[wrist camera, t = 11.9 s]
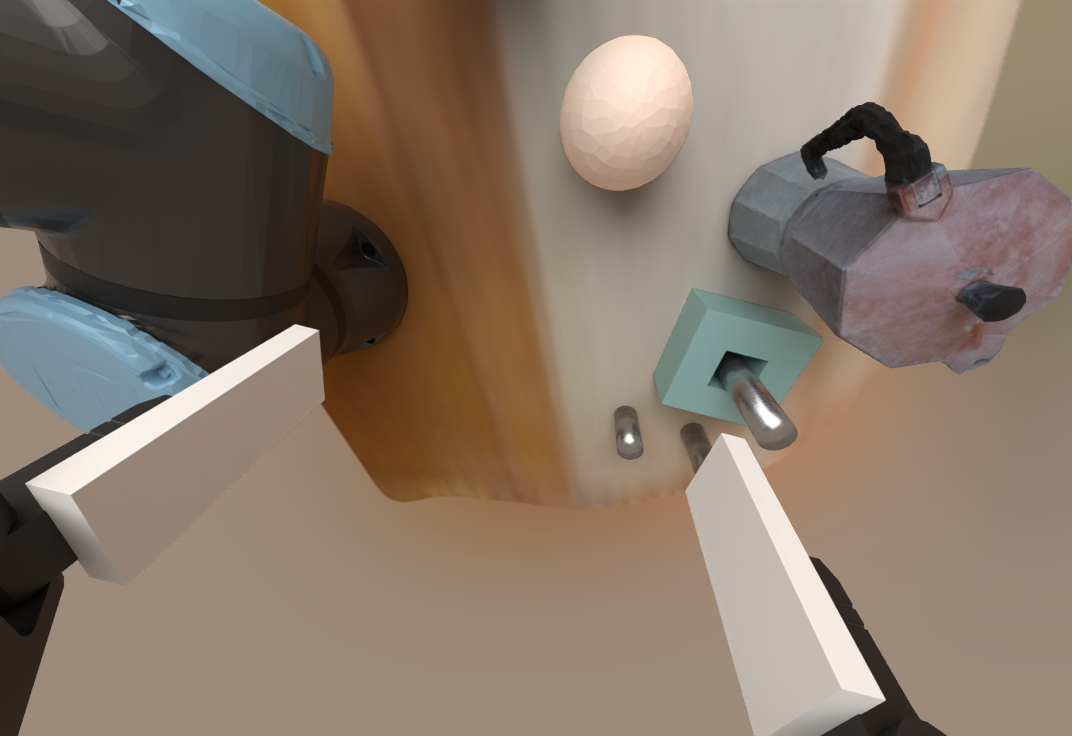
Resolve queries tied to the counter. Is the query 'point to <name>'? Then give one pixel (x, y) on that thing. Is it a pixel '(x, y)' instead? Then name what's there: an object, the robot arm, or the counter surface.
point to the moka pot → (907, 244)
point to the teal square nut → (737, 326)
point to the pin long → (756, 403)
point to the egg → (626, 112)
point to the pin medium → (695, 444)
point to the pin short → (628, 433)
